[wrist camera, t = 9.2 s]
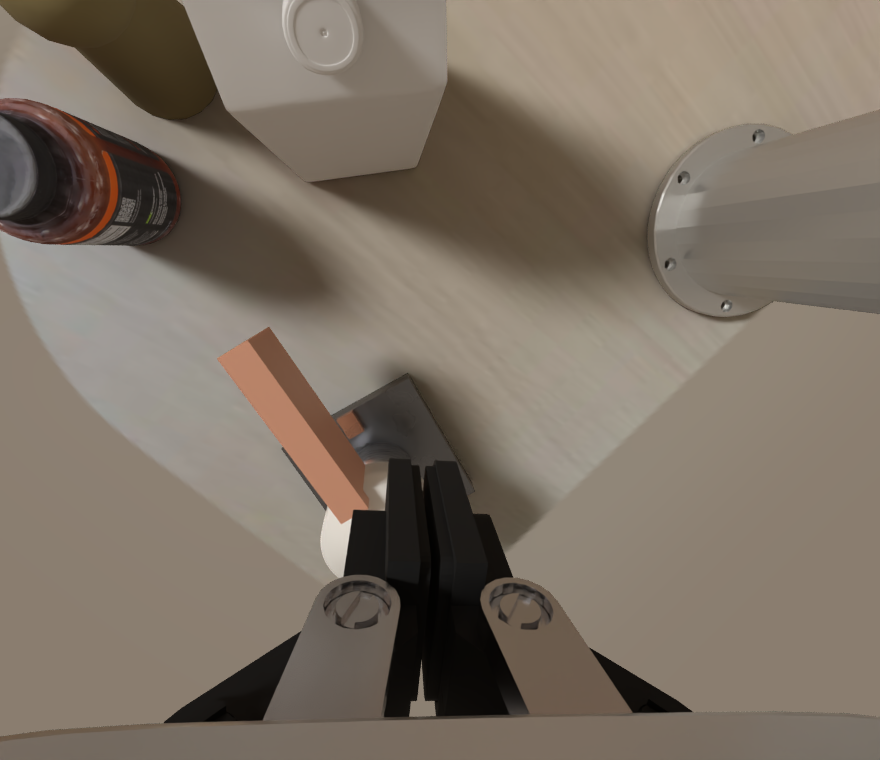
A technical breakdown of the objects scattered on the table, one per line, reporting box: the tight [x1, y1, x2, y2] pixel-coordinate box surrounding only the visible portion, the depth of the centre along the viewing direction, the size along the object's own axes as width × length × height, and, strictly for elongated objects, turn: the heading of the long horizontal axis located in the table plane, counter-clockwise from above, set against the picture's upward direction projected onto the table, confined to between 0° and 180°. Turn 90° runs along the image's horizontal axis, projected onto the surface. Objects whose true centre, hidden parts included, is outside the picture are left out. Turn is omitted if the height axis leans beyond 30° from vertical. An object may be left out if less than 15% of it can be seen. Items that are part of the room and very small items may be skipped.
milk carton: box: [182, 0, 447, 182], centre depth 19 cm, size 7×7×19 cm
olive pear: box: [0, 0, 217, 120], centre depth 21 cm, size 6×6×11 cm
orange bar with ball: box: [217, 327, 424, 578], centre depth 25 cm, size 16×6×4 cm, turn 30°
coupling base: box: [282, 373, 475, 510], centre depth 31 cm, size 10×10×6 cm
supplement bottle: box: [0, 98, 181, 246], centre depth 23 cm, size 6×6×11 cm
